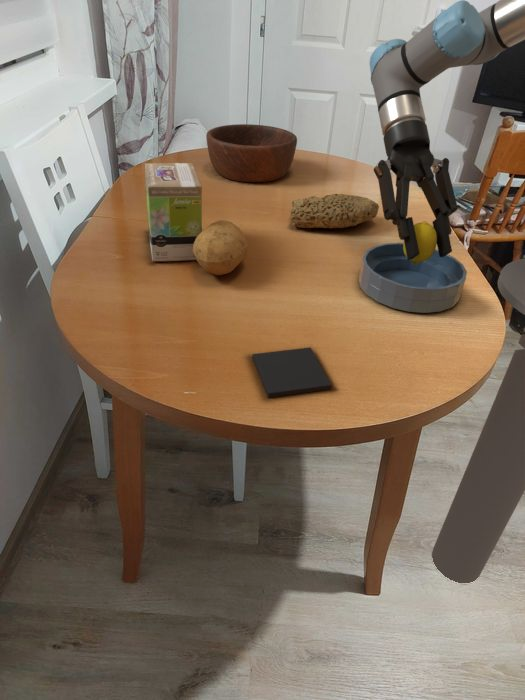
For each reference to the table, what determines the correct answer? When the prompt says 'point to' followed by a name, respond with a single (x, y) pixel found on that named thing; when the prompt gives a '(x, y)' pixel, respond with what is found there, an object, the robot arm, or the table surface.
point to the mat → (290, 372)
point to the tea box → (173, 210)
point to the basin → (411, 279)
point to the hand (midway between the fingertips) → (429, 255)
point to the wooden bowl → (251, 152)
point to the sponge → (332, 211)
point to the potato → (220, 247)
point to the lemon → (424, 242)
